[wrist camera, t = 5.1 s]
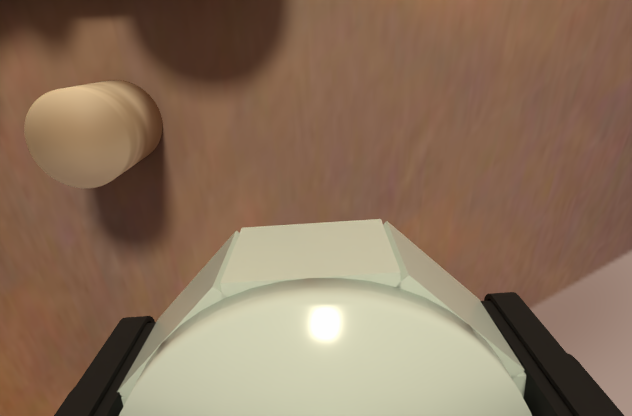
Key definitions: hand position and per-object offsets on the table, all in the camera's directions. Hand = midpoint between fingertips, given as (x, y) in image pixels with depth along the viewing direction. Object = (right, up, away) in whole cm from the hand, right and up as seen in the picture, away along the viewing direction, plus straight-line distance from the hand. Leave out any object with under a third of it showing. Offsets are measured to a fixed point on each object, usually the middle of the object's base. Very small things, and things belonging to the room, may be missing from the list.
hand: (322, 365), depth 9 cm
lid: (0, 0, 0) cm, 0 cm away
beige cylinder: (-11, +8, +14) cm, 20 cm away
